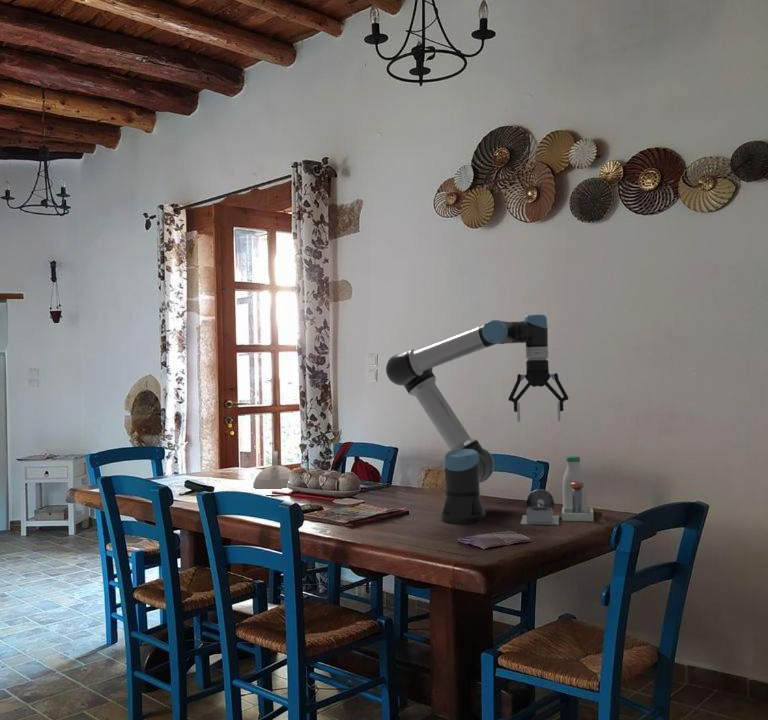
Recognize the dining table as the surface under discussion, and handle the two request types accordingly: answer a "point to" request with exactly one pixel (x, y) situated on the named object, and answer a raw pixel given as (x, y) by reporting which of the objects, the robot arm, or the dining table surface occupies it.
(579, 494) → the pin
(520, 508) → the dining table surface
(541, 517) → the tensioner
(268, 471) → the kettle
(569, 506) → the milk bottle
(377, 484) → the dining table surface
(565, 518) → the tray
